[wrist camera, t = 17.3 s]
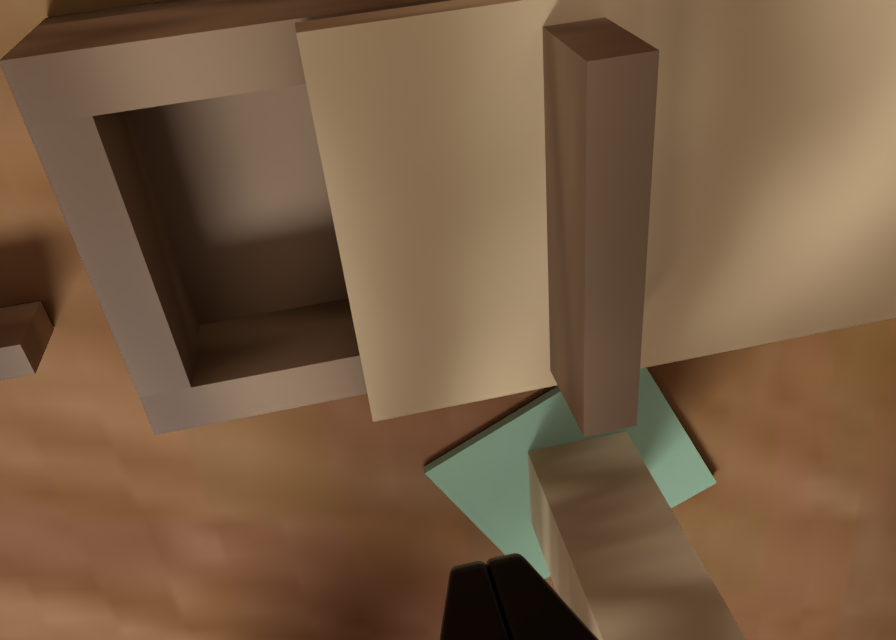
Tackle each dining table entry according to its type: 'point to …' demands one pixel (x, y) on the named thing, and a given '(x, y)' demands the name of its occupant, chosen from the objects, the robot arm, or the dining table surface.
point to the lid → (601, 187)
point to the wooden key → (620, 546)
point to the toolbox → (193, 202)
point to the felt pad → (546, 425)
